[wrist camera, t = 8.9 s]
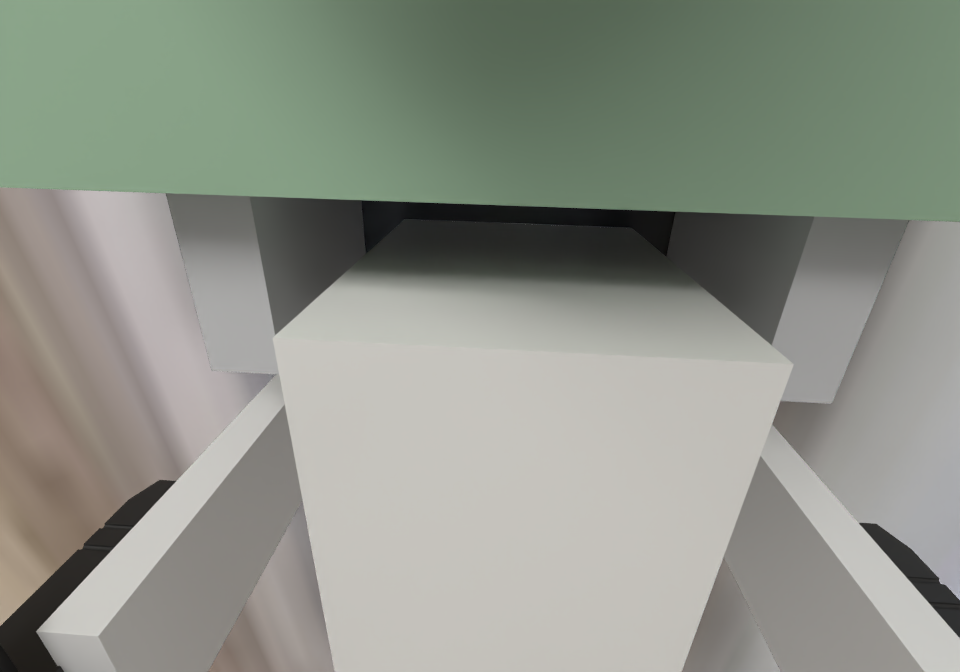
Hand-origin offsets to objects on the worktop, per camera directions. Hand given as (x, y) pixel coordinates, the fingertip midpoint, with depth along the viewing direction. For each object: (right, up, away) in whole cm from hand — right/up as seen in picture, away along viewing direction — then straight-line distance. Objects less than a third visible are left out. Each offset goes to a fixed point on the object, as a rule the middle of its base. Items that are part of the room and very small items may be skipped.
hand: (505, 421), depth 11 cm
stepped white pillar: (0, -3, +3) cm, 4 cm away
